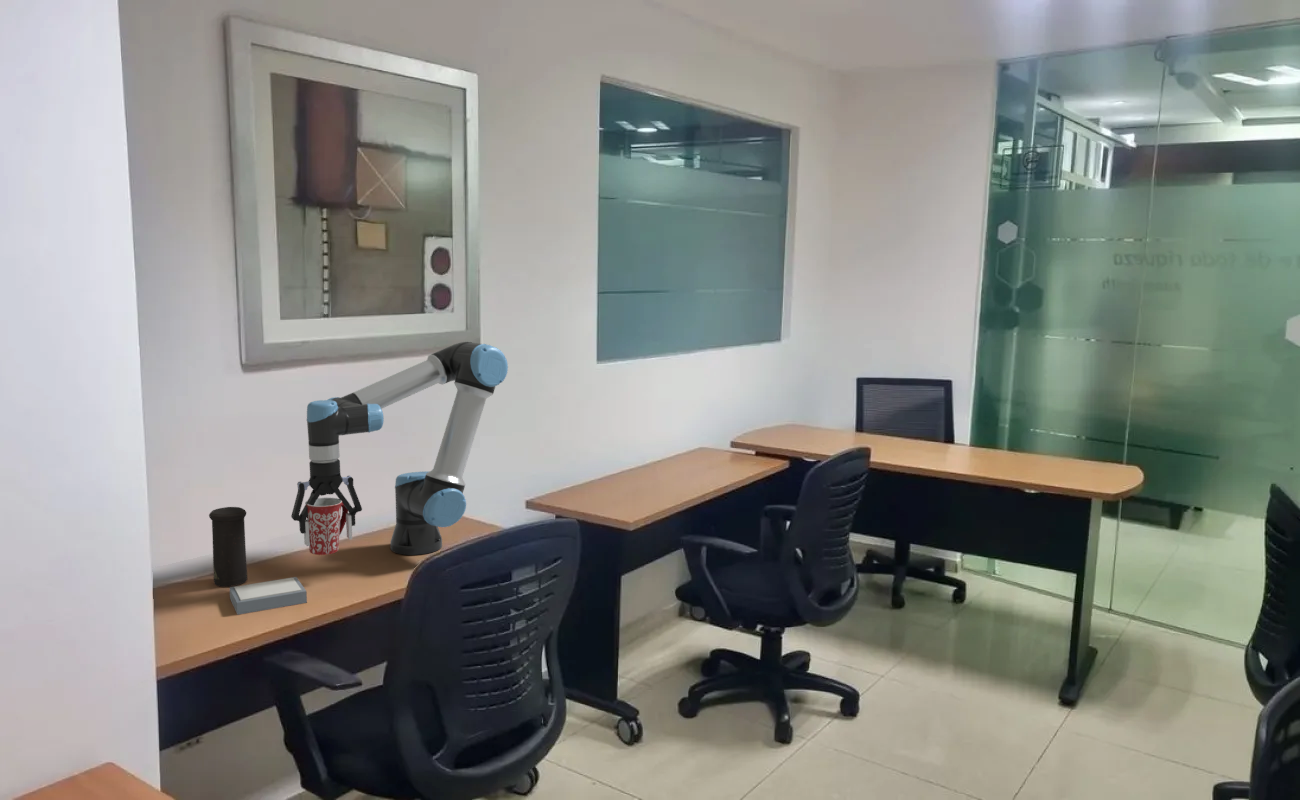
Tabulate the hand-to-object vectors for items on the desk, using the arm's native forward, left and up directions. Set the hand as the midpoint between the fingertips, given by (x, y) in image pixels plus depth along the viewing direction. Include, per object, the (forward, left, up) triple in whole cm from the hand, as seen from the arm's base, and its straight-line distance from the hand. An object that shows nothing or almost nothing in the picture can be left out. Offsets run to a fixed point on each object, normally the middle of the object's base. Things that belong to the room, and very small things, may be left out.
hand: (328, 541), depth 235 cm
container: (+22, -13, -12) cm, 28 cm away
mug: (0, 0, -3) cm, 3 cm away
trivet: (+16, +6, -11) cm, 21 cm away
